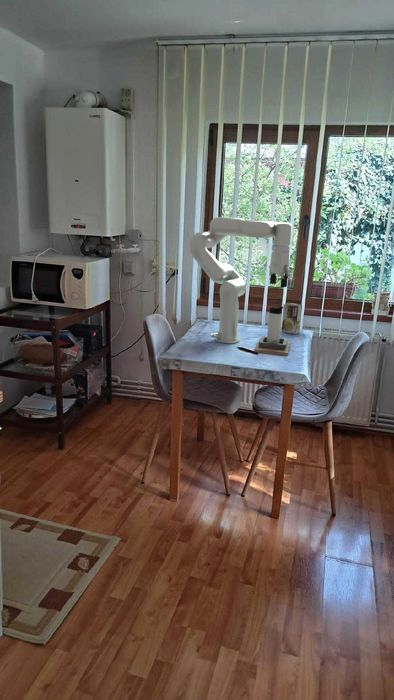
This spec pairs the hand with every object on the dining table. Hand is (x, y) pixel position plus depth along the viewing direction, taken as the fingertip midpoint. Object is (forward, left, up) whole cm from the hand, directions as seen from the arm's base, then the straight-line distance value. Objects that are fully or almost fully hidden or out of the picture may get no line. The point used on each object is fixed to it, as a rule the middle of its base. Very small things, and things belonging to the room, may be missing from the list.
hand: (278, 285), depth 236 cm
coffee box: (+29, +27, -32) cm, 51 cm away
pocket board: (0, 0, -32) cm, 32 cm away
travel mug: (0, 0, -30) cm, 30 cm away
